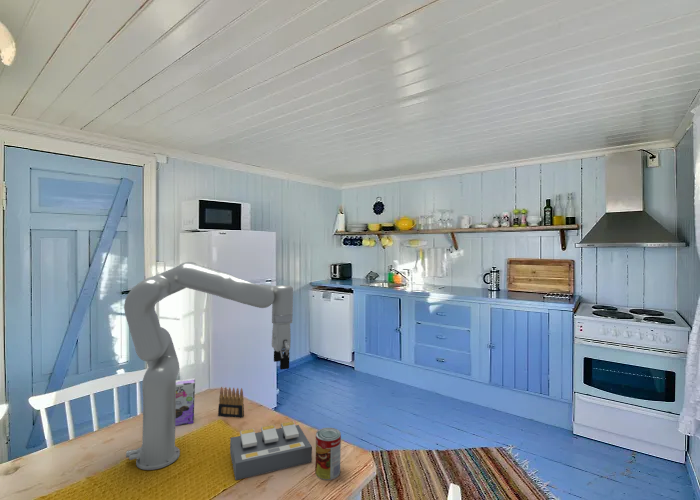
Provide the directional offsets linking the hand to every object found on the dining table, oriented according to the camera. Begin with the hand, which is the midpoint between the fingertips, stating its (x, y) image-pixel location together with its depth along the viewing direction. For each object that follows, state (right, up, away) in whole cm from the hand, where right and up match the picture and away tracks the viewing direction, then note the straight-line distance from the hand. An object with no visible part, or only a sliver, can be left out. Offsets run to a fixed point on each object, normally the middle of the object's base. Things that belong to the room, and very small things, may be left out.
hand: (281, 364), depth 129 cm
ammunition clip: (-24, -27, +17) cm, 40 cm away
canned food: (+19, -28, -19) cm, 38 cm away
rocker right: (+5, -21, -8) cm, 22 cm away
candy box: (-44, -27, +10) cm, 53 cm away
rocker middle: (-2, -21, -10) cm, 23 cm away
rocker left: (-8, -20, -13) cm, 26 cm away
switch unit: (-1, -27, -12) cm, 30 cm away
